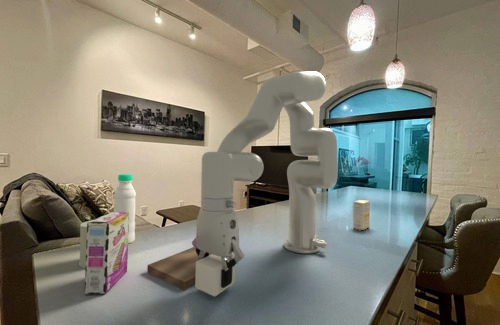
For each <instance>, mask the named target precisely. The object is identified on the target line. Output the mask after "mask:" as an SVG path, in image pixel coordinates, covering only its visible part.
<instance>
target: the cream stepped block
mask: <svg viewBox="0 0 500 325" xmlns="http://www.w3.org/2000/svg"><path fill="white" fill-rule="evenodd" d="M232 254H233V258H234V257H235V254H234V253H233V252H232ZM227 262H229V260H228V257H227ZM221 270H223V265H222V261H221V257H219V256H216V255H213V254H211V255H209V256H207V257H205V258H203V259H201V260H199V261H196V278H195V285H194V286H195V289H198V290H199V291H202V292H203V293H206V294H208V295H209V296H212V297H216V296H218V295H220V294H221V293H222V292H224V291H225V290H226V289H229V287H231V286H232V285H234V284H235V283H236V282H235V280H236V277H235V275H236V265H235V266H234V267H232V282H231V284H229V285H228V286H226V287H225V288H222V287H221Z"/></svg>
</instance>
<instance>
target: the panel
mask: <svg viewBox="0 0 500 325" xmlns="http://www.w3.org/2000/svg"><path fill="white" fill-rule="evenodd" d="M196 261H199V260H198V255H197V253H196V249H195V248H194V246H192V247H190V248H188V249H184V250H182V251H179V252H177V253H175V254H172V255H169V256H167V257H164V258H162V259H160V260H157V261H154V262H152V263H149V264H147V267H146V268H147V269H146V270H147V273H148V274H150V275H152V276H153V277H156V278H158V279H159V280H162V281H164V282H166V283H168V284H170V285H172V286H174V287H177V288H178V289H180V290H182V291H186V290H188V289H190V288H191V287H194V286H195V278H196Z"/></svg>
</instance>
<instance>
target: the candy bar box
mask: <svg viewBox="0 0 500 325" xmlns="http://www.w3.org/2000/svg"><path fill="white" fill-rule="evenodd" d="M88 221H89V222H87V221H86V222H87V242H86V268H84V270H85V273H84V274H85V275H84V276H85V277H84V295H106V294H107V293H108V292H109V291H110V290H111V289H112V288H113V287H114V286H115V285H116V284H117V283H118V281H119V280H120V279H121V278H122V277H123V276H124V275H125V274H126V273H127V272H128V258H129V257H128V253H129V244H128V233H129V213H127V212H114V211H111V212H109V213H106V214H104V215H102V216H100V217H97V218H93V219H92V221H91V220H88Z"/></svg>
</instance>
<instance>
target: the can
mask: <svg viewBox="0 0 500 325" xmlns="http://www.w3.org/2000/svg"><path fill="white" fill-rule="evenodd" d="M92 220H93V219H92ZM92 220H88V221H84V222H81V223H80V225H79V228H80V229H79V232H80V234H79V235H80V236H79V238H80V239H79V240H80V242H79V262H78V265H79V267H81V268H83V269H85V268H86V242H87V222H89V221H92Z"/></svg>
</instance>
